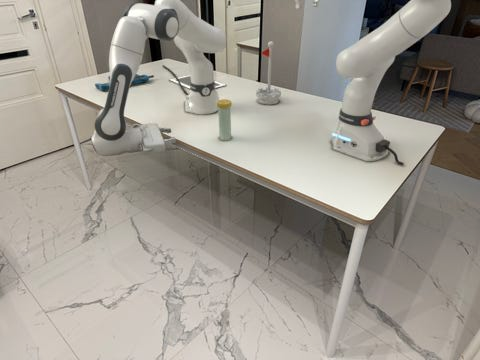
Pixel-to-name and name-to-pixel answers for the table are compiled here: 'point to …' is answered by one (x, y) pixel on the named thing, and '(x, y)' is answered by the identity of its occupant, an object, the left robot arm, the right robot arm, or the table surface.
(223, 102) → the lid
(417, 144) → the table surface
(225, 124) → the pale green cylinder
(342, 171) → the table surface
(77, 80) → the table surface
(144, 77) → the submachine gun
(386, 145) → the right robot arm
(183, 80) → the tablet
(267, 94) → the flag stand
